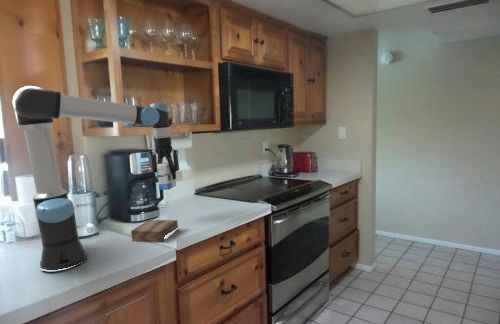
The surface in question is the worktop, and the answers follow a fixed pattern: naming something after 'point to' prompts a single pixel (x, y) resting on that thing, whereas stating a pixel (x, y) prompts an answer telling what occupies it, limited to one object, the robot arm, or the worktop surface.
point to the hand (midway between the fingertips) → (167, 186)
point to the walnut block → (153, 230)
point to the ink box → (164, 176)
